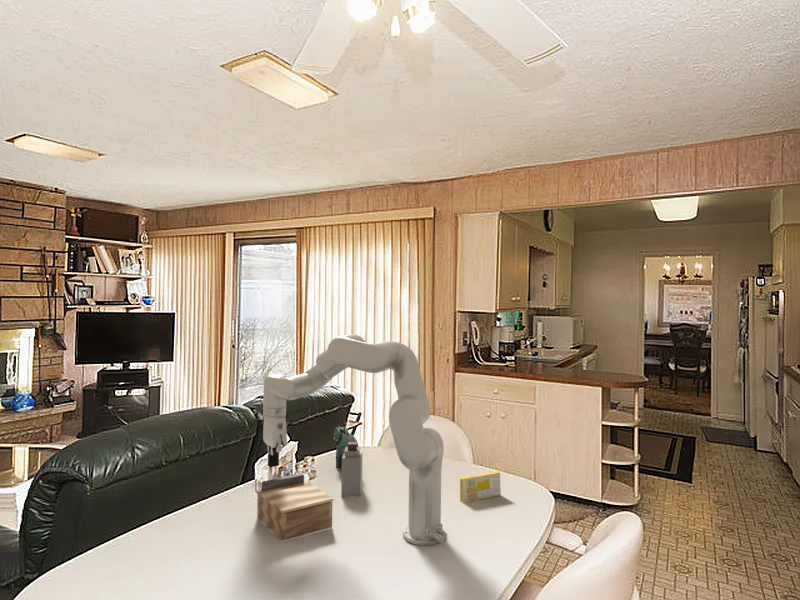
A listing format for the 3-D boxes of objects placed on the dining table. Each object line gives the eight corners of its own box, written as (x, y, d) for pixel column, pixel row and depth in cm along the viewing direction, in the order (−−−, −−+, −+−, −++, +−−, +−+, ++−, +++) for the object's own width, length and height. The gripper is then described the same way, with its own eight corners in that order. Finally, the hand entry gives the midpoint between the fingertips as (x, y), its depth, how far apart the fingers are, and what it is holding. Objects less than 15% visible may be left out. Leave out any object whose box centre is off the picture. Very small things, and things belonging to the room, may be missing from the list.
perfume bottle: (360, 496, 184) (360, 445, 184) (341, 496, 184) (341, 445, 184) (362, 489, 191) (362, 440, 191) (343, 489, 191) (344, 440, 191)
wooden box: (332, 528, 158) (332, 502, 158) (282, 542, 149) (282, 514, 149) (303, 506, 174) (303, 483, 174) (257, 518, 165) (257, 493, 165)
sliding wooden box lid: (333, 501, 158) (333, 490, 158) (281, 513, 149) (282, 502, 149) (304, 482, 175) (304, 472, 175) (256, 492, 165) (256, 481, 165)
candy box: (497, 493, 188) (497, 471, 188) (500, 495, 187) (501, 472, 187) (459, 501, 181) (459, 477, 181) (462, 503, 179) (463, 479, 179)
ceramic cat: (331, 466, 217) (332, 418, 217) (346, 464, 220) (347, 417, 220) (349, 481, 199) (350, 429, 200) (365, 479, 202) (365, 427, 202)
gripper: (294, 414, 171) (292, 470, 171) (276, 406, 183) (275, 458, 183) (272, 417, 166) (271, 474, 166) (255, 408, 178) (254, 461, 179)
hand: (273, 465), depth 175 cm, fingers closed
